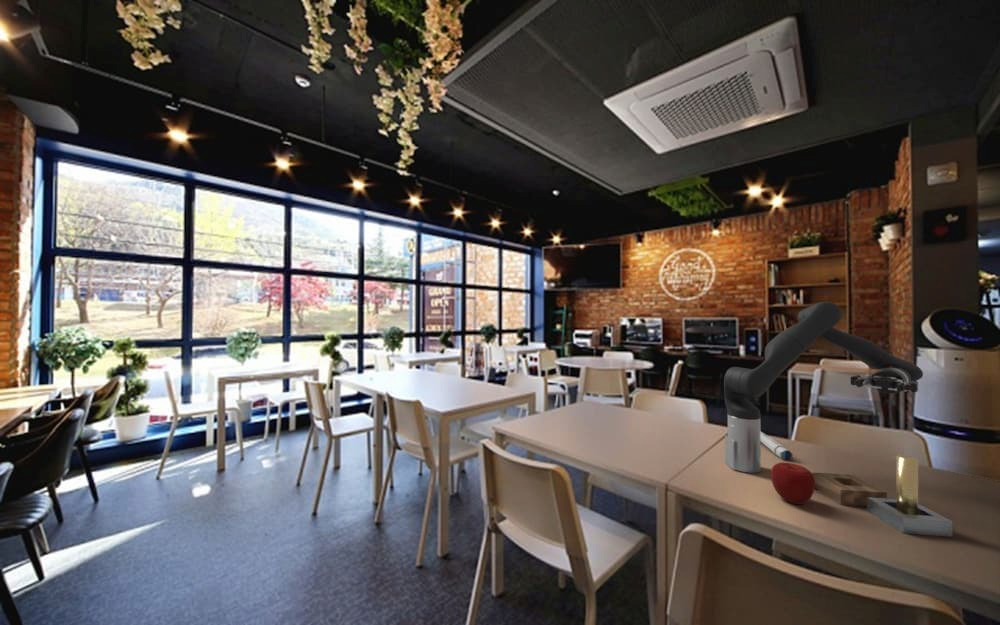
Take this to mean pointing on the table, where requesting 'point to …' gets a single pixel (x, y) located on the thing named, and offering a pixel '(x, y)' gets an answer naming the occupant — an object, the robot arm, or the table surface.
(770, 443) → the white marker pen
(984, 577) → the table surface
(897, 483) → the brass axle
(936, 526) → the grey steel socket block
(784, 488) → the apple
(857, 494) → the walnut block
